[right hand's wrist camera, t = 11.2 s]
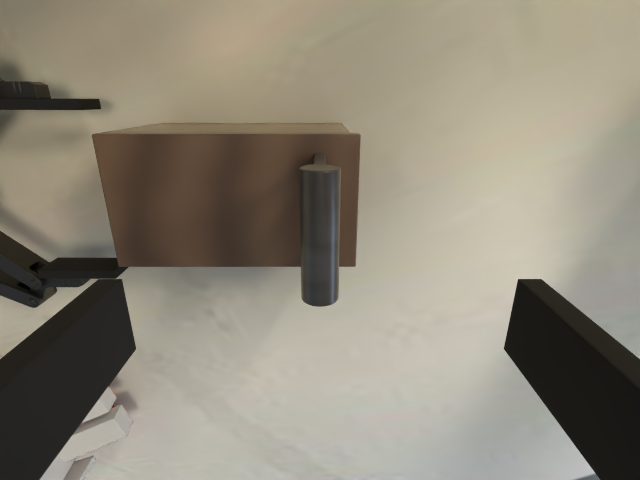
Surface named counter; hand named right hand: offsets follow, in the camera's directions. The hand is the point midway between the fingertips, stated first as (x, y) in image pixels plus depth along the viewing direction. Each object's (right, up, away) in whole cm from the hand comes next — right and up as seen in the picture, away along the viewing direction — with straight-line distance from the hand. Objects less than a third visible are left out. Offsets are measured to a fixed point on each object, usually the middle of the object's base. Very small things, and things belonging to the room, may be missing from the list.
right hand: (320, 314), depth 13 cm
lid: (-6, +5, +14) cm, 16 cm away
